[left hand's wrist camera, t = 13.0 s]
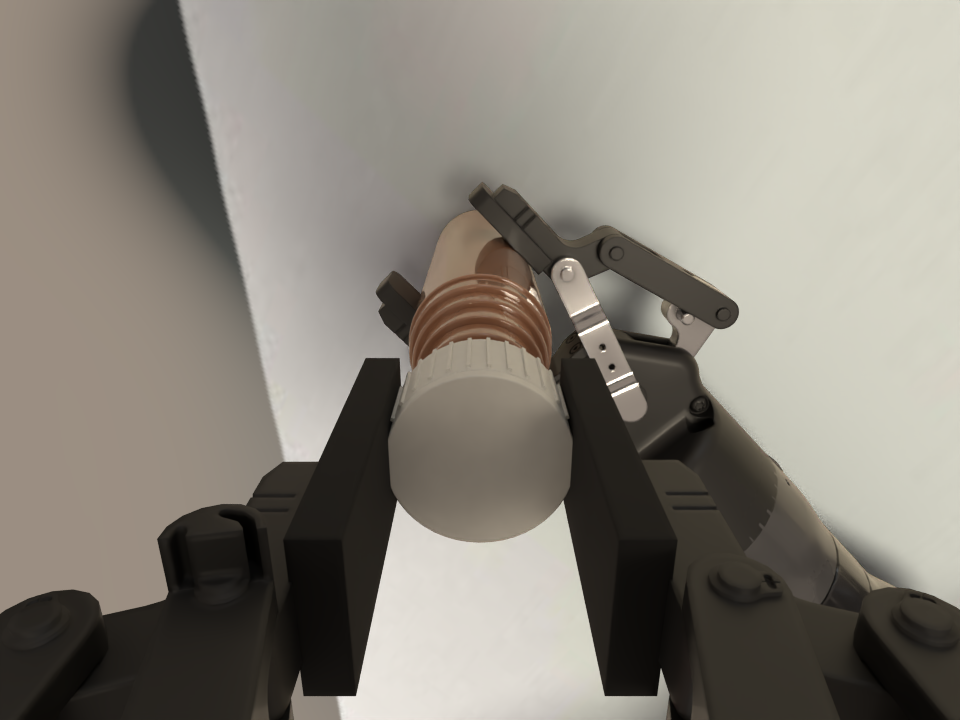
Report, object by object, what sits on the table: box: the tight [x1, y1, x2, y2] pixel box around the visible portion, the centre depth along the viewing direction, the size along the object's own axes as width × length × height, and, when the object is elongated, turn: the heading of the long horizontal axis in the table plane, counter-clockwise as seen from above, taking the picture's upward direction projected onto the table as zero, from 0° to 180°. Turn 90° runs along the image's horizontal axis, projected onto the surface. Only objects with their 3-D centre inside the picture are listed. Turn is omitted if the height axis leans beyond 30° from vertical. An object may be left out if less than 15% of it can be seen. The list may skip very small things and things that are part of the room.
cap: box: [388, 337, 573, 542], centre depth 14 cm, size 4×4×2 cm
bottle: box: [409, 210, 552, 371], centre depth 22 cm, size 4×4×19 cm
